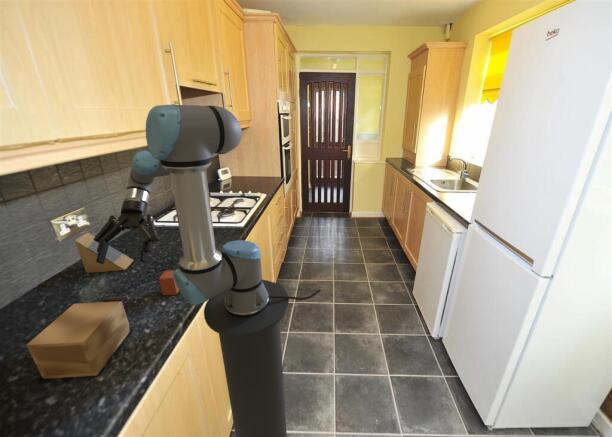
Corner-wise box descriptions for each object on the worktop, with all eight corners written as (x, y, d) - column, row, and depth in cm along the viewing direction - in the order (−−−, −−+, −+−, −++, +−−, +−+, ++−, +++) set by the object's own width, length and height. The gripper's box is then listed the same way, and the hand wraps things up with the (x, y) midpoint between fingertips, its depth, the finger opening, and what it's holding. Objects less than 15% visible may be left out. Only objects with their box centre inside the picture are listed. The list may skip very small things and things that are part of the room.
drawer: (102, 314, 85) (94, 291, 82) (139, 312, 86) (132, 289, 83) (52, 367, 67) (39, 340, 64) (99, 364, 68) (89, 337, 65)
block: (182, 286, 101) (178, 270, 98) (177, 294, 96) (173, 277, 94) (168, 287, 101) (164, 270, 98) (162, 295, 96) (158, 278, 93)
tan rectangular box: (85, 333, 79) (74, 303, 75) (130, 331, 80) (120, 301, 76) (42, 378, 65) (25, 345, 62) (97, 375, 66) (83, 342, 62)
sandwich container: (125, 270, 112) (115, 237, 107) (85, 273, 110) (73, 240, 105) (134, 260, 120) (126, 229, 115) (97, 262, 118) (87, 231, 113)
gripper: (175, 207, 100) (165, 263, 91) (106, 209, 98) (90, 266, 90) (166, 198, 93) (155, 257, 84) (92, 200, 92) (72, 260, 83)
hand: (121, 262), depth 87 cm, fingers open, 13 cm apart
